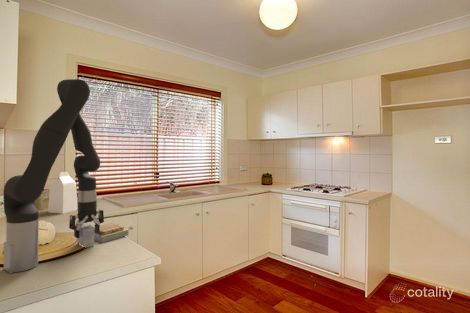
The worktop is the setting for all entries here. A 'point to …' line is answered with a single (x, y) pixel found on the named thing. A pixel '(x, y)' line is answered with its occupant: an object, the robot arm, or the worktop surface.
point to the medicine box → (86, 235)
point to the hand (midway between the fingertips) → (87, 235)
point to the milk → (62, 194)
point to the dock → (110, 236)
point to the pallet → (109, 229)
